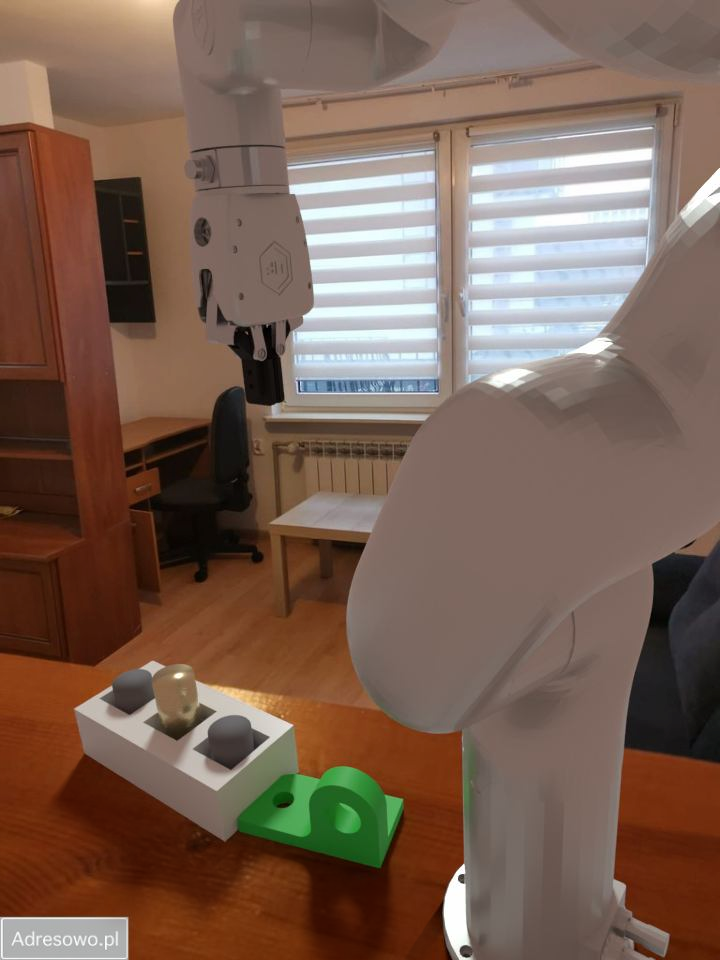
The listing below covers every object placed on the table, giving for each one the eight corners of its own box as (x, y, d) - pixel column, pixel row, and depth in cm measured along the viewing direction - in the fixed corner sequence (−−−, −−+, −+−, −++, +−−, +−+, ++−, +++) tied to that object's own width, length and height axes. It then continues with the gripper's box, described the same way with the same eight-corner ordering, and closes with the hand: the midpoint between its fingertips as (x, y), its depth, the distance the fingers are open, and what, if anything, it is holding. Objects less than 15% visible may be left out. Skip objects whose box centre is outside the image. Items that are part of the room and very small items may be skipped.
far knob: (169, 728, 69) (159, 676, 67) (139, 750, 67) (128, 696, 65) (145, 716, 71) (135, 665, 69) (115, 737, 69) (104, 684, 67)
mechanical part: (403, 818, 59) (401, 739, 56) (380, 878, 54) (376, 794, 51) (273, 785, 63) (265, 710, 60) (240, 838, 58) (229, 759, 55)
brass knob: (211, 728, 65) (202, 671, 63) (180, 751, 62) (170, 693, 60) (185, 714, 67) (175, 659, 65) (154, 736, 64) (143, 680, 62)
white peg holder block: (299, 780, 64) (293, 725, 62) (226, 850, 57) (216, 791, 55) (161, 709, 75) (152, 660, 73) (86, 761, 68) (74, 708, 66)
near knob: (267, 781, 62) (260, 724, 60) (238, 808, 59) (228, 749, 57) (238, 765, 64) (229, 709, 62) (208, 791, 61) (198, 733, 59)
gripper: (202, 171, 49) (234, 428, 55) (335, 174, 60) (350, 388, 66) (134, 181, 53) (171, 419, 59) (270, 182, 65) (289, 382, 71)
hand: (265, 402), depth 63 cm, fingers closed
